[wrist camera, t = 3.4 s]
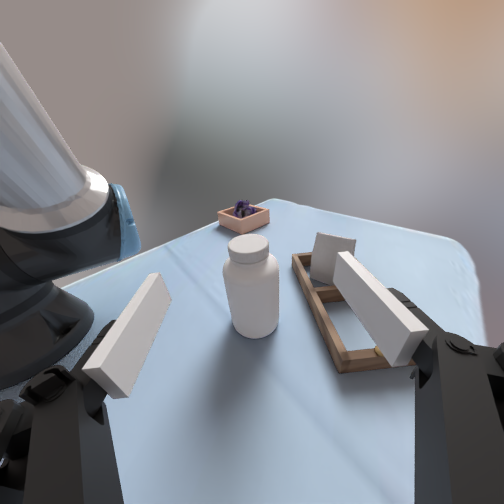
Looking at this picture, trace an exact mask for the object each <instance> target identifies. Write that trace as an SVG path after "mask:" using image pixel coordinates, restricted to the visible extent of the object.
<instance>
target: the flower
mask: <svg viewBox="0 0 504 504" xmlns="http://www.w3.org/2000/svg"><path fill="white" fill-rule="evenodd" d="M255 213H257V212H256V208H254V207H251V206H249V201H248V200H246V201H240V200H239V201H238V202H237V203H236V205H235V207H234V212H233V216H234V217H237V218H240V219H242V218H245V217H247V216H250V215H252V214H255Z"/></svg>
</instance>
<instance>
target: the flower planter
mask: <svg viewBox="0 0 504 504" xmlns="http://www.w3.org/2000/svg"><path fill="white" fill-rule="evenodd" d="M249 206H251V207H254V208H256V212H257V213H255V214H252V215H250V216H247V217H245V218H242V219H240V218H237V217H234V216H233V212H234V207H235V206H234V207H232V208H228V209H225V210H223V211H219V212H218V219H219V224H220V225H221V226H224V227H226V228H228V229H230V230H233V231H235V232H237V233H240V234H242V235H243V234H245V233H247V232H250V231H252V230H254V229H256V228H259V227H261V226H263V225H265V224H267V223H270V219H269V209H266V208H262V207H258V206H254V205H249Z"/></svg>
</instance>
